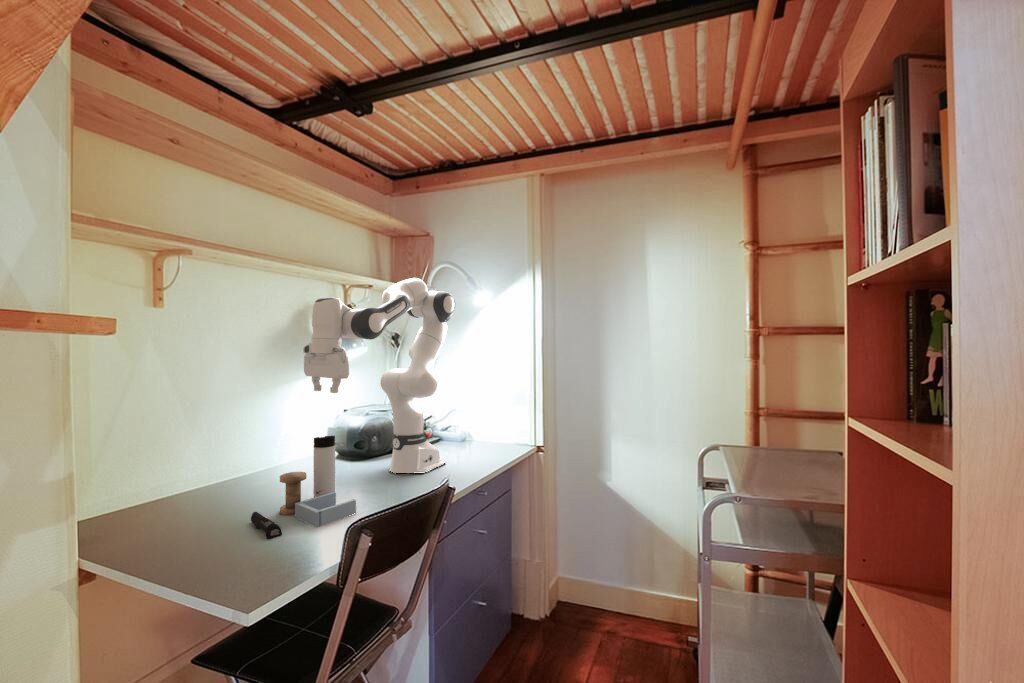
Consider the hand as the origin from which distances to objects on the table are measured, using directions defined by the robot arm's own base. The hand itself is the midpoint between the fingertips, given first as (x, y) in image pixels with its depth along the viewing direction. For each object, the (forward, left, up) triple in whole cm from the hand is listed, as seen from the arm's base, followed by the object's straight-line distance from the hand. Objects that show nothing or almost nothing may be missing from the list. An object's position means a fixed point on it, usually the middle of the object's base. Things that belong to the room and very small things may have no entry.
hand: (325, 391), depth 141 cm
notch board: (+8, +13, -34) cm, 37 cm away
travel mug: (+1, 0, -34) cm, 34 cm away
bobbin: (+12, +2, -34) cm, 36 cm away
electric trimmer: (+23, +9, -34) cm, 42 cm away
